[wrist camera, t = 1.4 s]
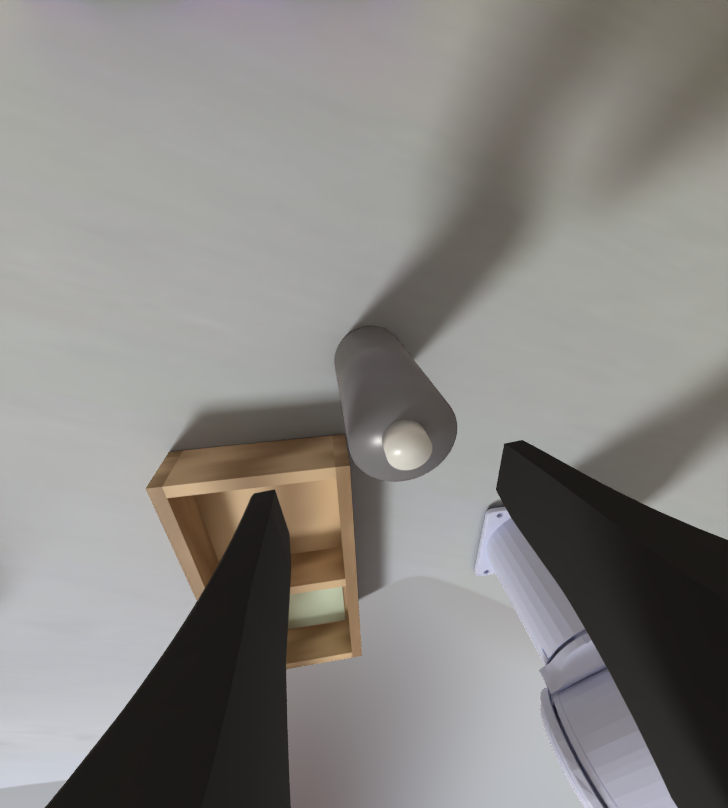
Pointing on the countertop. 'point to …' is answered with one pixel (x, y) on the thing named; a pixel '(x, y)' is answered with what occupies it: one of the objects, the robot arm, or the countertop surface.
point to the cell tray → (306, 521)
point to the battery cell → (390, 408)
